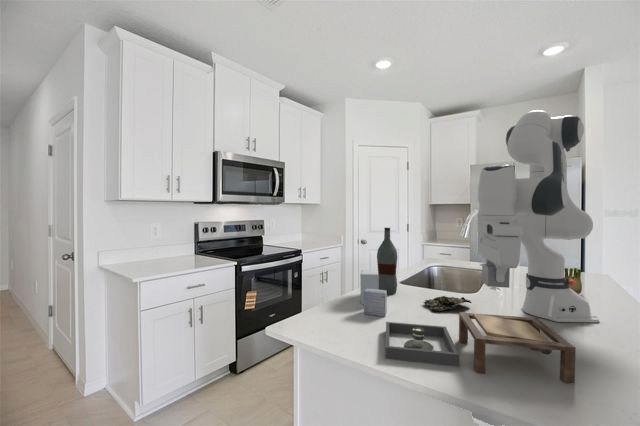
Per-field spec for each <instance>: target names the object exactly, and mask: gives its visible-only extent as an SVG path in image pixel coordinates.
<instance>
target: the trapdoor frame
mask: <svg viewBox="0 0 640 426" xmlns="http://www.w3.org/2000/svg"><path fill="white" fill-rule="evenodd" d="M458 314H459V316H458V341H459V343H460V344H466V343H469V342H468V341H469V334H470V335H471V336H472V338H473V370H474V372H475V373H476V374H481V375H485V374H486V345H497V346H498V345H499V346H508V347H519V348H527V349H528V348H529V349H530V350H531V351H540V350H539V349H549V350H552V351H560V352H559V353H560V354H559V357H560V358H559V359H560V360H559V379H560V380H561V381H562V382H563V383H564V382H565V383H564V384H569V383H576V353H577V352H576V351H577V350H576V346H574V345H573V344H572V343H570V342H569V341H568V340H566V339H565V338H563V336H561V335H560V334H559V333H557V332H556V331H555V330H553V329H552V328H551V327H550V326H548V325H547V324H546V323H544V322H543V321H542V320H540V319H539V317H538V318H537V317H527V316H514V315H501V314H499V315H498V314H488V313H486V314H485V313H473V312H458ZM473 314H477V315H484V316H490V317H497V318H503V319H510V320H516V321H523V322H528V323H529V324H530V325H531V326H532V327H534V328H535V329H536V330H537V331H538V332H540V333H541V332H542V333H543V334H544V335H546V336H547V337H548V338H549V339H550V340H551V341H550V342H546V341H535V340H523V339H512V338H501V337H494V336H488V335H483V334H482V332H481V331H480V330H479V328H478V327H477V325H476V324H475V322H473V320H475V319H474V317H473Z"/></svg>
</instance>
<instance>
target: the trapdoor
mask: <svg viewBox="0 0 640 426" xmlns="http://www.w3.org/2000/svg"><path fill="white" fill-rule="evenodd" d="M477 314H478V313H475V314H473V317H474V319H473V320H475V321H476V322H477V324H478V326H479V327H480V328H481V330H482V331H483V332H484V333H485V336H489V337H501V338H512V339H523V340H535V341H546V342H551V341H550V340H549V339H548V338H547V337H545V336H544V335H543V334H542V333H541V331H540V332H538V331H537V330H536V329H535V328H534V327H532V326H531V325H530V324H529V323H528V322H523V321H516V320H510V319H503V318H497V317H490V316H484V315H477ZM538 351H539V352H541V354H544V355H549V354H551V353H553V350H549V349H539V350H538Z"/></svg>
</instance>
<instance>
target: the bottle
mask: <svg viewBox="0 0 640 426" xmlns="http://www.w3.org/2000/svg"><path fill="white" fill-rule="evenodd" d="M383 229H384V233H383V235H384V238H383V239H384V240H383V241H382V242H381V244H380V245H379V247H378V249H377V251H376V260H377V261H376V262H377V271H378V275H379V290H386V291H387V296H392V295H395V294H396V293H397V290H398V278H397V267H398V266H397V265H398V252H397V247H396V246H395V244H394V243H393V242H392V240H391V227H384V228H383Z"/></svg>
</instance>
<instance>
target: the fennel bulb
mask: <svg viewBox="0 0 640 426" xmlns="http://www.w3.org/2000/svg"><path fill="white" fill-rule="evenodd" d="M581 276H582V269H581V268H577V267H570V268H568V267H564V277H565V278H567V279H569V280H574V281H576V282H577V285H576V286H571V285H569V286H570V288H571V289H572V290H573V291H575V292H576V293H577V294H579V295H580V294H581V293H582V291H583V290H582V289H583V286H582V284H583V283H582V277H581Z"/></svg>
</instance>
